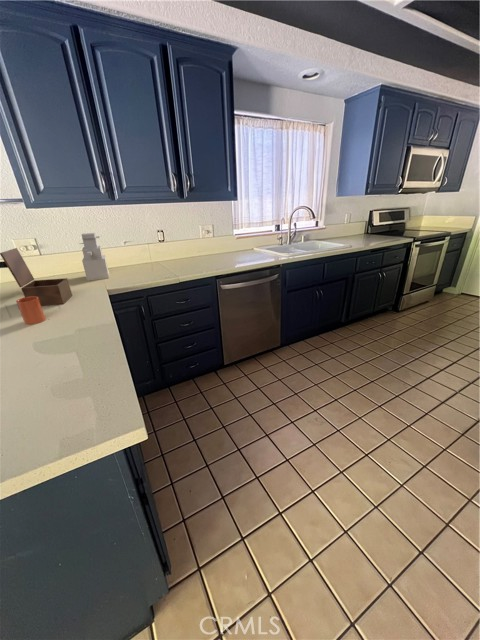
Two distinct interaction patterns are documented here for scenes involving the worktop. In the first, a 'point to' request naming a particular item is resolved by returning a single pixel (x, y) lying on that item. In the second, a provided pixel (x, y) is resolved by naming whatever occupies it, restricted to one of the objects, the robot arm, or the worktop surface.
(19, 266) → the box lid
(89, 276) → the blocky snowman figure
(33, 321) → the cup
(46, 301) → the box
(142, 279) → the worktop surface
